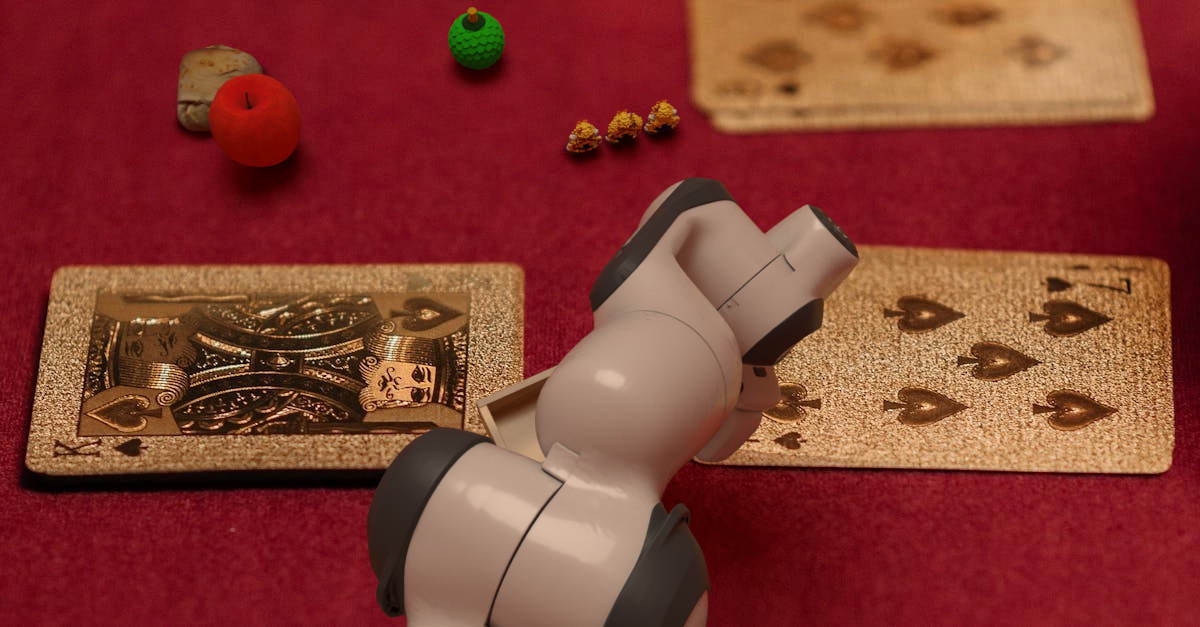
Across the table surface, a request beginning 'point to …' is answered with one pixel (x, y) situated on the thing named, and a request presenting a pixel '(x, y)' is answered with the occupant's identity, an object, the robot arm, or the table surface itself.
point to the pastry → (208, 81)
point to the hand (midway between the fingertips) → (634, 412)
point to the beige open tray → (515, 416)
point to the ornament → (476, 40)
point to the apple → (255, 120)
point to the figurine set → (622, 128)
